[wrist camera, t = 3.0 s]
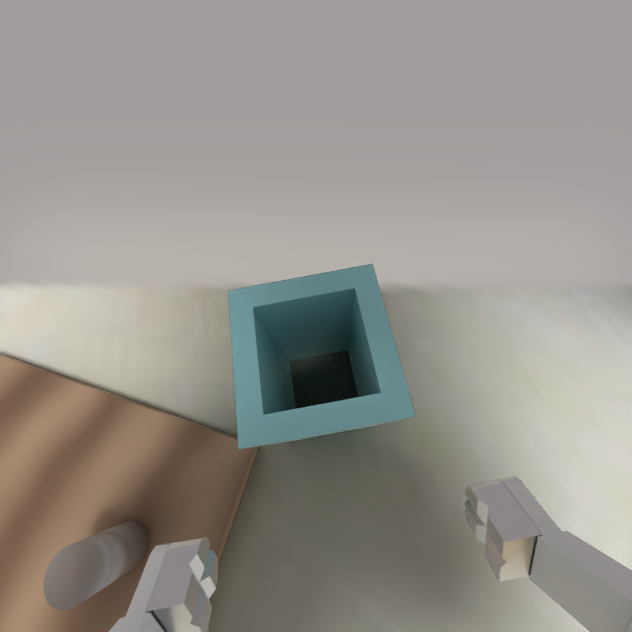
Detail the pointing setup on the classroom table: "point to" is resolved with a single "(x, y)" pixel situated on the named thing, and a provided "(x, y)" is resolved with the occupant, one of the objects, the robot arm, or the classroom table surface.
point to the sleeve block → (313, 355)
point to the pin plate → (99, 497)
